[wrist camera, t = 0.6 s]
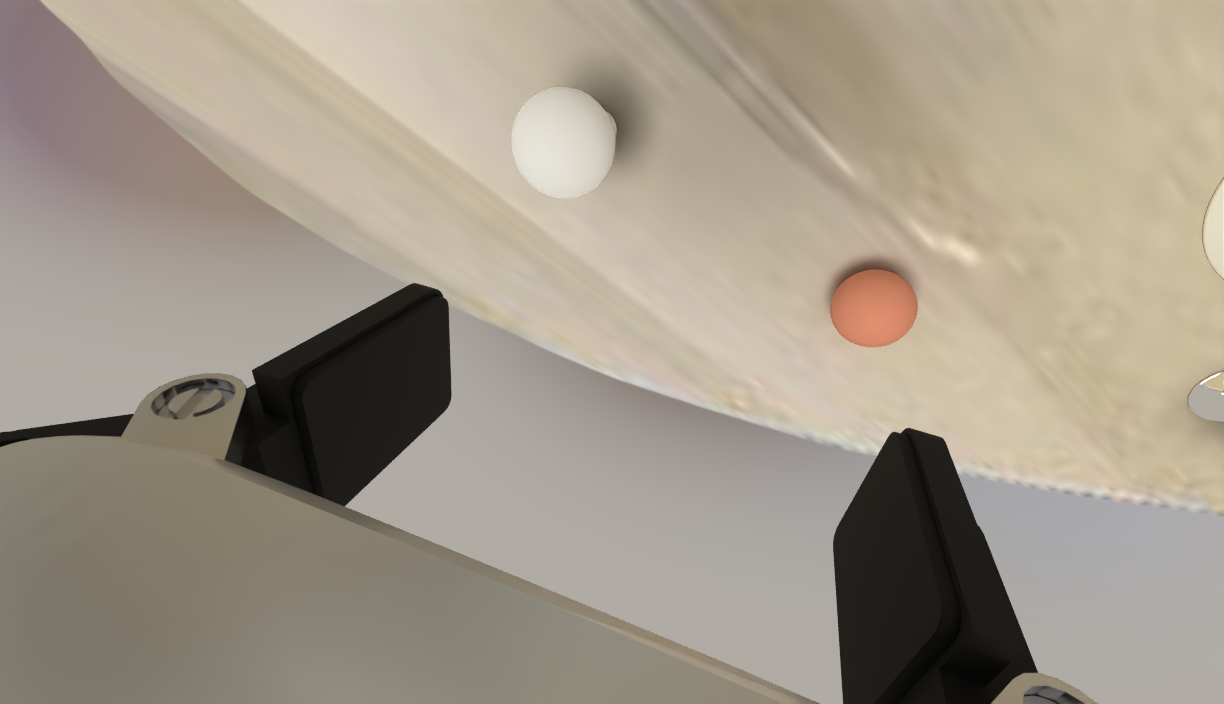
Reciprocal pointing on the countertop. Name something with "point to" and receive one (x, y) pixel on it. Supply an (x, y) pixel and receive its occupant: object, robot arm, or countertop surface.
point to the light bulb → (563, 142)
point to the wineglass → (1209, 398)
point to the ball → (873, 308)
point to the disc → (1215, 230)
